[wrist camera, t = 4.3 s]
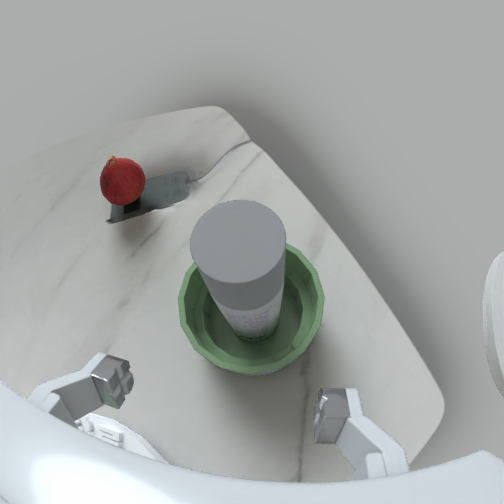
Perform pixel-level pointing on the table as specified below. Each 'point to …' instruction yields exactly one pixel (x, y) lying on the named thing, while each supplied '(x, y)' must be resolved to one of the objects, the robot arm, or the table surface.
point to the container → (242, 264)
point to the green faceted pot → (262, 352)
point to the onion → (121, 181)
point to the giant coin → (117, 435)
